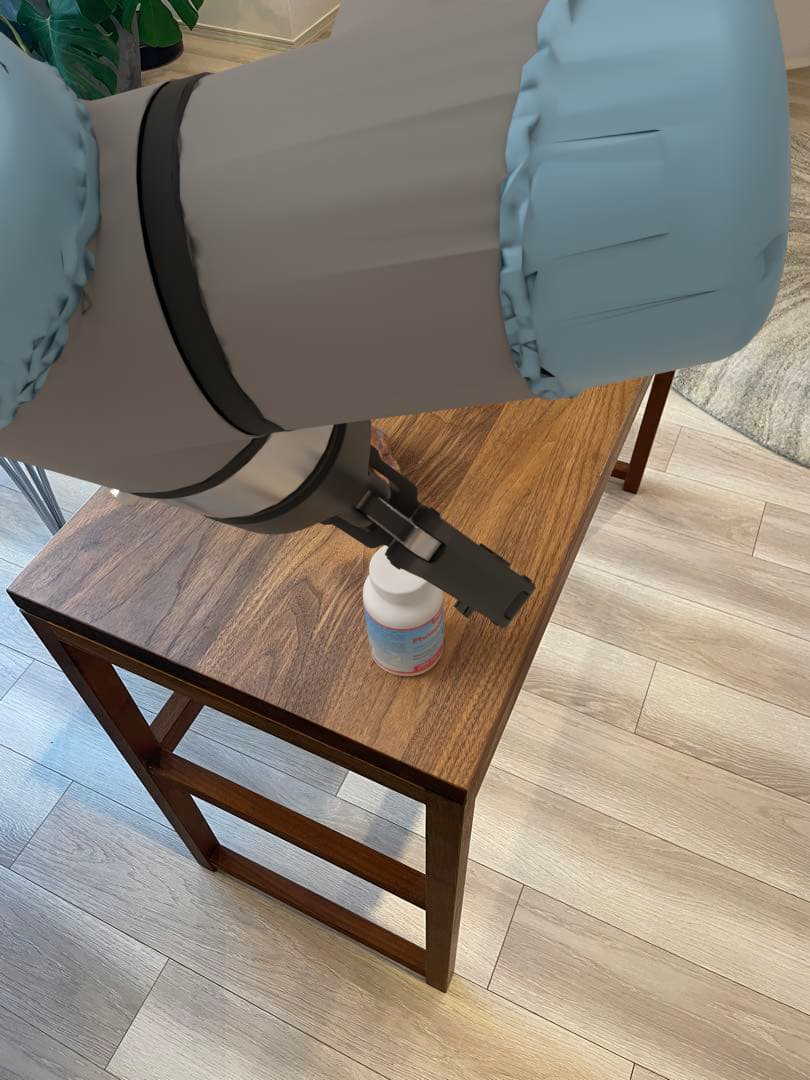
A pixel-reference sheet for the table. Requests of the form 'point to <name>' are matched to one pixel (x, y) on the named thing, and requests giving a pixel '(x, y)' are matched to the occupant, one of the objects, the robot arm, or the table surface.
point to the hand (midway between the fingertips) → (400, 510)
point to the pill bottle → (402, 618)
